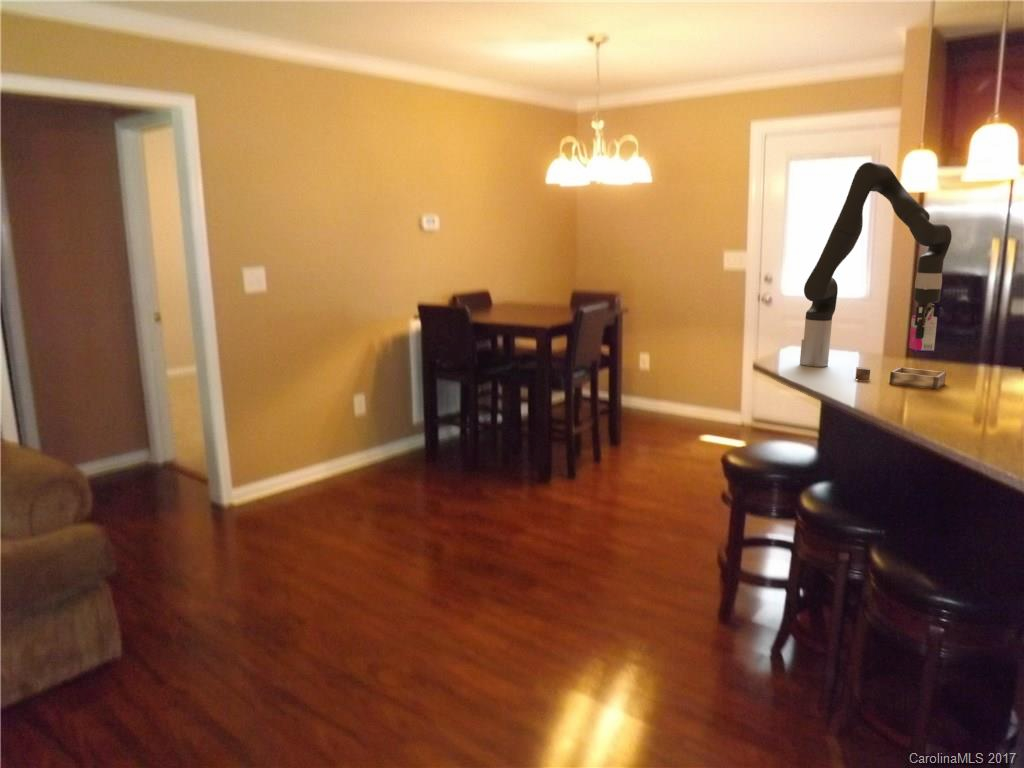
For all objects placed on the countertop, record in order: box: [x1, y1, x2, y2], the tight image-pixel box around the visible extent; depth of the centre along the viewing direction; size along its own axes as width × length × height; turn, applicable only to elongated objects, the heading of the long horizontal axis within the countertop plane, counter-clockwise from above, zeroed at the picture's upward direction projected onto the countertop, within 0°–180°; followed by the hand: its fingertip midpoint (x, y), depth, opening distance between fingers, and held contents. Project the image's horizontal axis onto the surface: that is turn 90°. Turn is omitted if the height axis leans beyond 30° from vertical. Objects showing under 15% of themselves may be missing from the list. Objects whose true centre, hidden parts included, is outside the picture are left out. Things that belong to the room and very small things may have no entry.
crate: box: [889, 366, 947, 391], centre depth 248 cm, size 14×12×4 cm
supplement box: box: [908, 315, 938, 353], centre depth 245 cm, size 6×6×12 cm
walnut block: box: [855, 366, 871, 381], centre depth 256 cm, size 4×4×4 cm
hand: (922, 337), depth 246 cm, fingers closed on supplement box, 8 cm apart
